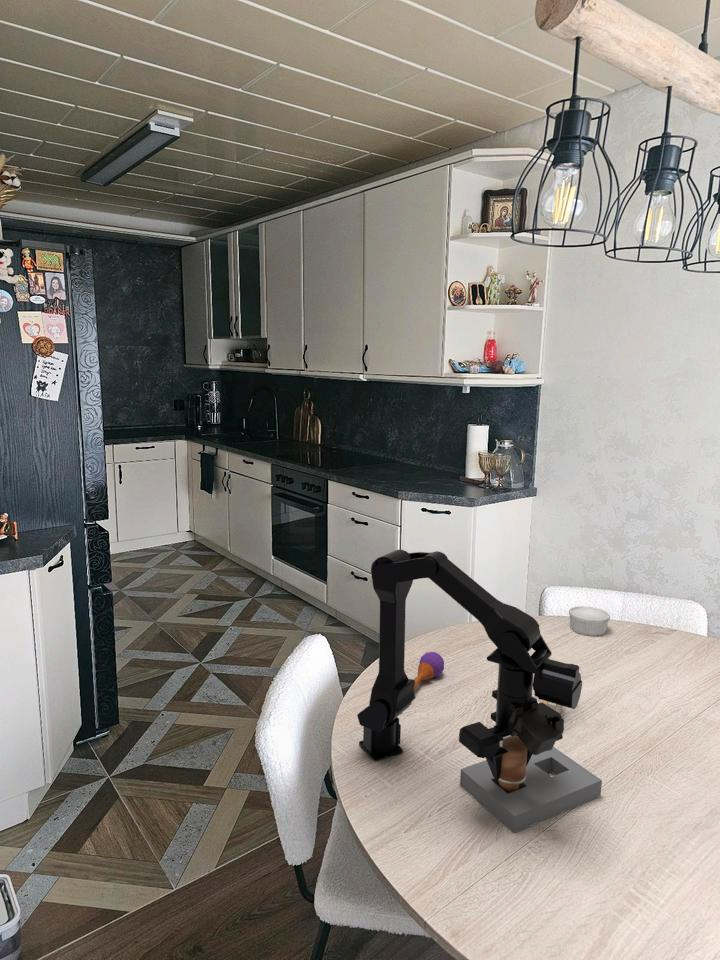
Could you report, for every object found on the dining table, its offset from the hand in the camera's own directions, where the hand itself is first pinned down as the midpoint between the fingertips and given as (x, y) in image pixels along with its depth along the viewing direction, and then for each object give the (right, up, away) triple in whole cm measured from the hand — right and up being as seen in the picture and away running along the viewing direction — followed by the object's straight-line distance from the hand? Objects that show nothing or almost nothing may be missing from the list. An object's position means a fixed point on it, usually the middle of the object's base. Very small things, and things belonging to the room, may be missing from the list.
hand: (509, 773), depth 113 cm
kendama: (-12, +2, +40) cm, 42 cm away
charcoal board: (+4, -4, +3) cm, 7 cm away
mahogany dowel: (0, -3, +1) cm, 3 cm away
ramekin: (+40, +7, +75) cm, 85 cm away
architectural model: (+16, -1, +29) cm, 33 cm away
